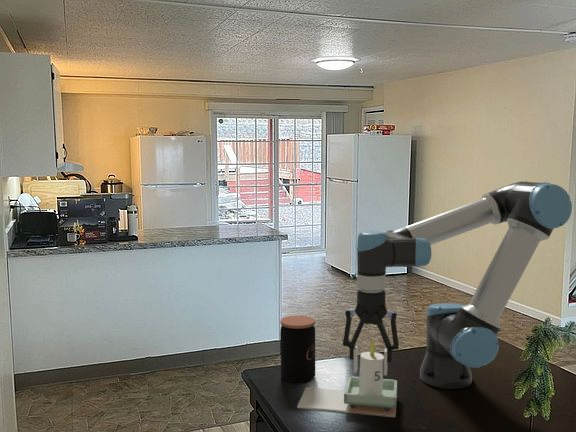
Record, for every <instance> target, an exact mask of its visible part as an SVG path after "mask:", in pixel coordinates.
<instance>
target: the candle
mask: <svg viewBox="0 0 576 432" xmlns="http://www.w3.org/2000/svg"><path fill="white" fill-rule="evenodd" d="M374 341H375V340H374V339H373V338H371V339H370V346H369V347H370V348H369V349H370V350H369V351H365V352H361V353H360V356H359V358H360V361H359V376H358V377H359V394H362V395H373V396H382V387H383V379H384V354H383V353H381V352H376V351H375V350H376V346H375V342H374Z"/></svg>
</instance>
